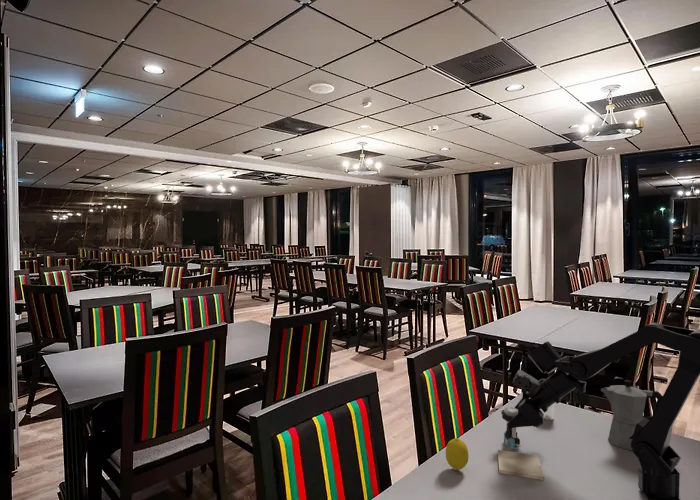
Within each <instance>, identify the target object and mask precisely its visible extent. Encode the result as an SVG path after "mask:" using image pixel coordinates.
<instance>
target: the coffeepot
mask: <svg viewBox="0 0 700 500" xmlns="http://www.w3.org/2000/svg"><path fill="white" fill-rule="evenodd" d="M631 384H632V380H629V379H625V380H624V385H623V384H622V385H621V384H620V385H619V384H618V385H617V384H616V385H612V384H611V385H610V386H609V387H607V386H606V387H602V388H601V389H600V391H601V392H602V393H603V394H604V396H605V397H606V398H607V400H608V402H609V403H610V408H611V409H610V410H611V412H612V413H613V414H612V420H611V425H610V429H609V433H608V434H609V435H608V437H607V441H609V442H610V443H611V444H612V445H613V446H615V447H617V448H620V449H623V450H627V451H631V452H633V450H632V448H631V441H632V440H633V439H629V437H630V436H631V435H632V434H633V433H634V430H635V427H636V424H637V423H638V422H639V421H640V420H641V419H642V418H643V417H644V411H645V406H646V402H647V399H656V402H655V406H654V408H653V410H652V415H651V416H648V415H646V418H647V419H648V420H649V421H650V419H651V418H652V416H653V414H654V412H655V410H656V408H657V406H658V404H659V402H660V400H661V399H662V397H663V395H662V393H660V392H659V391H658V390H648V389H644V390H642V389H640V388H638V387H634V386H631Z"/></svg>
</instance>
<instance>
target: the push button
mask: <svg viewBox="0 0 700 500" xmlns="http://www.w3.org/2000/svg"><path fill="white" fill-rule="evenodd" d="M500 413H501V418H502V419H503V420H504V421H506V424H507V423H508V422H509V421H510V420H511V419H512V418H513V417H514V416H515V415H516V414H517V413H518V409H516V408H514V407H509V406H508V407H507V406H506V407H505V408H504V409H503V410H501V411H500ZM503 442H504V444H505V445H506V446H508V447H509V448H511V449H512V450H517V451H518V452H519V451H521V449H520V448H521V439H520V438H519V437H518V432H517V427H516V428H509V427H508V426H507V425H506V429H505V432H503Z"/></svg>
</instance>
